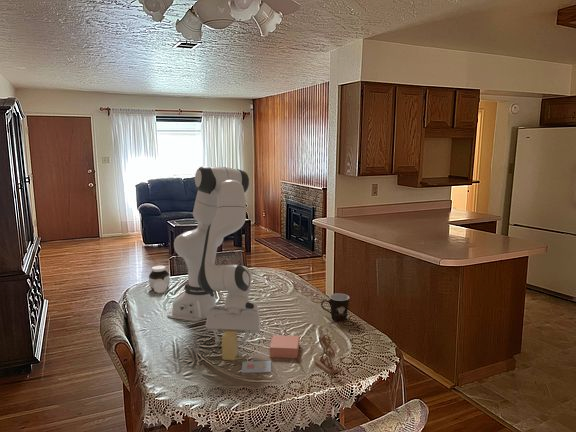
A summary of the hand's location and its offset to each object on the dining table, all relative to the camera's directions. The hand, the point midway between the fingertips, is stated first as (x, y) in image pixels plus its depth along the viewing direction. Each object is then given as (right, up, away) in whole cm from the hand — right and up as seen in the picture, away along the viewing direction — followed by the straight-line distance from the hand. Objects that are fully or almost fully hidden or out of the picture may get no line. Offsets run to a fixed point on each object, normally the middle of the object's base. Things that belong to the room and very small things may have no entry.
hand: (230, 343), depth 155 cm
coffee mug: (+42, +1, +35) cm, 54 cm away
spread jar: (-46, +7, +71) cm, 85 cm away
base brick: (+20, -5, +6) cm, 21 cm away
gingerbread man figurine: (+34, -7, -6) cm, 35 cm away
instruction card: (+10, -6, -6) cm, 13 cm away
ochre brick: (0, -5, +1) cm, 5 cm away
